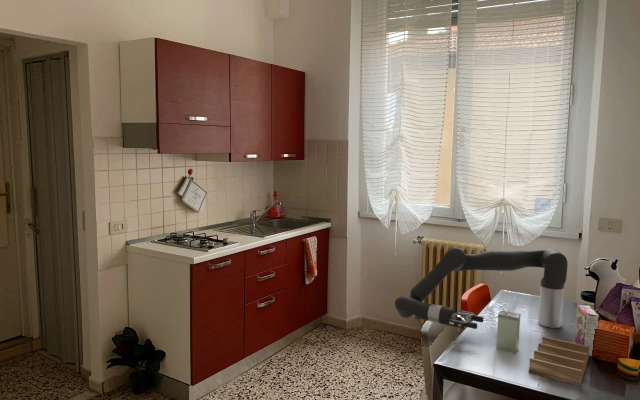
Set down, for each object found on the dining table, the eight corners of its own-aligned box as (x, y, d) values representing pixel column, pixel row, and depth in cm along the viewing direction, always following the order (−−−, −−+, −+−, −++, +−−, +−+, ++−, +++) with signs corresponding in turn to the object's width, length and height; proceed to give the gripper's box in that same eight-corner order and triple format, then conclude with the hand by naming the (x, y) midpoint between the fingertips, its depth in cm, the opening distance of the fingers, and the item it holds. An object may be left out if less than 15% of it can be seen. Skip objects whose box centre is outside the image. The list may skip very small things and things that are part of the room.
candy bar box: (573, 344, 195) (576, 304, 193) (586, 345, 194) (589, 305, 192) (582, 356, 184) (585, 314, 182) (596, 357, 183) (600, 315, 181)
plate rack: (541, 348, 190) (542, 335, 190) (588, 358, 182) (589, 345, 181) (528, 372, 170) (529, 359, 169) (580, 385, 161) (581, 371, 160)
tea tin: (499, 344, 194) (501, 310, 192) (518, 348, 190) (520, 314, 188) (496, 348, 189) (498, 314, 188) (515, 353, 186) (517, 317, 184)
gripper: (435, 310, 197) (475, 319, 188) (447, 301, 209) (485, 309, 200) (434, 328, 198) (474, 337, 189) (446, 318, 210) (484, 326, 201)
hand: (480, 323), depth 195 cm, fingers open, 8 cm apart
